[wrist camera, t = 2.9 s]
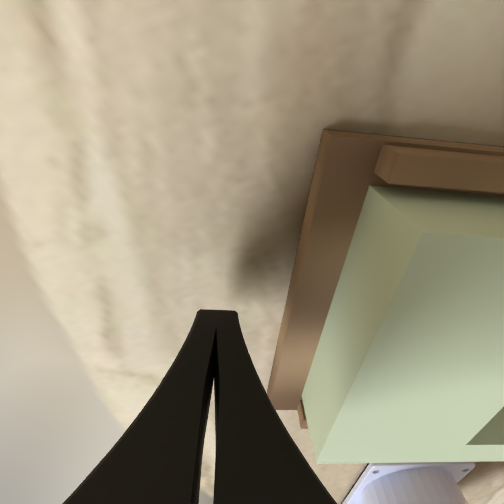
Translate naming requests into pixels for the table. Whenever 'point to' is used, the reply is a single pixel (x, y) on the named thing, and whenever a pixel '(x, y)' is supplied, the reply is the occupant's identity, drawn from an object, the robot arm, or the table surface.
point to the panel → (414, 335)
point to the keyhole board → (344, 223)
